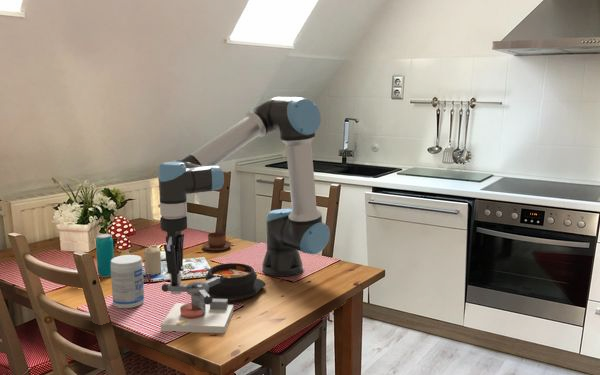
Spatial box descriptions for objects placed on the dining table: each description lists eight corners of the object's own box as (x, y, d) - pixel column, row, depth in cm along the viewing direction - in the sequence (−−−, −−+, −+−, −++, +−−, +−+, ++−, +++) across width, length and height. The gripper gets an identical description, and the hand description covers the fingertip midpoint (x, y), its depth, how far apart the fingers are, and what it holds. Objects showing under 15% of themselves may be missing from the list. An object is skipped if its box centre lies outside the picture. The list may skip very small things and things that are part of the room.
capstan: (224, 301, 167) (224, 273, 165) (212, 328, 148) (211, 297, 147) (171, 299, 167) (170, 272, 166) (152, 326, 149) (151, 296, 147)
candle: (150, 276, 194) (148, 249, 192) (143, 272, 198) (141, 246, 196) (164, 273, 197) (162, 247, 195) (157, 269, 201) (155, 243, 200)
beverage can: (110, 271, 198) (108, 232, 196) (117, 275, 194) (115, 235, 192) (95, 275, 194) (92, 235, 192) (102, 279, 190) (99, 238, 188)
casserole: (242, 277, 194) (241, 255, 192) (278, 291, 181) (278, 267, 180) (183, 296, 176) (182, 272, 174) (219, 313, 163) (218, 287, 162)
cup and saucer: (207, 243, 235) (207, 230, 234) (234, 245, 233) (234, 231, 232) (198, 252, 223) (198, 237, 222) (227, 253, 221) (226, 239, 220)
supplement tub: (143, 308, 167) (141, 263, 164) (111, 310, 164) (108, 265, 162) (145, 296, 176) (143, 253, 173) (114, 298, 174) (112, 255, 171)
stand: (233, 310, 165) (233, 297, 164) (224, 333, 150) (224, 318, 149) (175, 309, 166) (175, 295, 165) (160, 331, 151) (160, 316, 150)
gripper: (167, 210, 161) (169, 284, 166) (153, 221, 148) (156, 301, 153) (192, 210, 161) (194, 285, 165) (180, 221, 148) (183, 302, 153)
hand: (176, 293), depth 159 cm, fingers closed
